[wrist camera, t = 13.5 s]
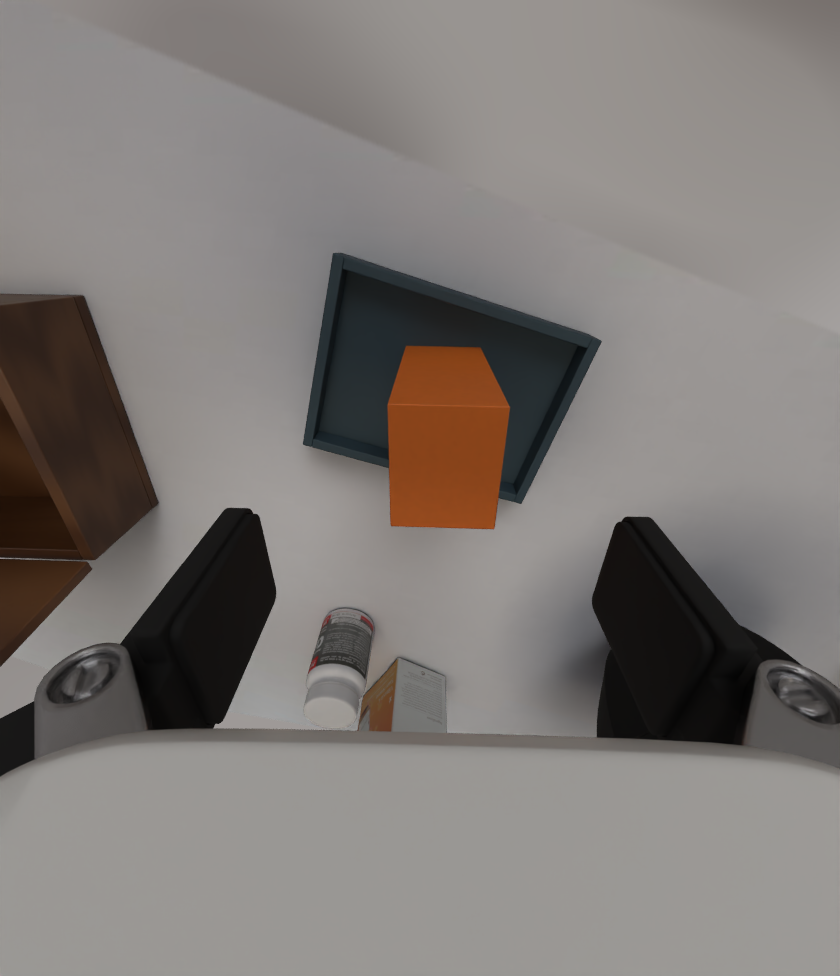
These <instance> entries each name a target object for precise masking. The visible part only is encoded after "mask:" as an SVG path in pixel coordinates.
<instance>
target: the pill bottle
mask: <svg viewBox="0 0 840 976" xmlns="http://www.w3.org/2000/svg"><path fill="white" fill-rule="evenodd" d="M373 635H374V625H373V622H372V621H371V619H370V618H369V617H368V616H367V615H366V614H364V613H362V612H360V611H357V610H353V609H338V610H335V611H332V612H331V613H329V614H328V615H327V616H326V618H325V619H324V621H323V624H322V628H321V631H320V635H319V638H318V641H317V645H316V648H315V652H314V655H313V658H312V662H311V665H310V668H309V672H308V675H307V680H306V686H307V689H308V693H307V696H306V700H305V704H304V710H303V711H304V715H305V717H306V718H307V719H308V720H309V721H310V722H312V723H313V724H315V725H317V726H320V727H323V728H328V729H340V728H345V727H347V726H349V725H351V724H352V723H353V722H354V721H355V719H356V716H357V711H358V707H359V699H360V698H361V697H362V695H363V693H364V691H365V687H366V681H367V674H368V667H369V661H370V654H371V648H372V641H373Z"/></svg>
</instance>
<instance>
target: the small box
mask: <svg viewBox="0 0 840 976" xmlns="http://www.w3.org/2000/svg"><path fill="white" fill-rule="evenodd" d="M358 731H387V732H426V733H447V717H446V679H445V676H443V675H440V674H438V673H435V672H433V671H430V670H428V669H425V668H423V667H420V666H418V665H415V664H413V663H411V662H408V661H406V660H403V659H401V658H398V659H397V660H396V661H395V662H394V664H393V665H392V666H391V667H390V668H389V670H388V671H387V672H386V673H385V674H384V675H383V676H382V677H381V678H380V679H379V680H378V681H377V683H376V684H375V685H374V686H373V687H372V688H371V689H370V690H369V691H368V692H367V693H366V694H365V695H364V697H363V700H362V707H361V713H360V719H359V725H358Z"/></svg>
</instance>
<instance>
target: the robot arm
mask: <svg viewBox="0 0 840 976" xmlns="http://www.w3.org/2000/svg"><path fill="white" fill-rule="evenodd" d="M275 598H276V587H275V582H274V578H273V574H272V569H271V565H270V561H269V556H268V552H267V547H266V543H265V539H264V534H263V530H262V526H261V521H260V518H259V516H258V515H257V514H253V512H252V510H251V509H249V508H226V509H225V510H224V511H223V512H222V514H221V515H220V516H219V517H218V519H217V520H216V521H215V523H214V524H213V525H212V526H211V528H210V529H209V530H208V532H207V533H206V534H205V536H204V537H203V538H202V539H201V541H200V542H199V543H198V545H197V546H196V547H195V548H194V550H193V551H192V552H191V554H190V555H189V556H188V557H187V559H186V560H185V561H184V563H183V564H182V565H181V566H180V567H179V569H178V570H177V571H176V573H175V574H174V575H173V576H172V578H171V579H170V580H169V582H168V583H167V584H166V585H165V587H164V588H163V589H162V591H161V592H160V593H159V594H158V596H157V597H156V598H155V600H154V601H153V602H152V604H151V605H150V606H149V607H148V609H147V610H146V611H145V613H144V614H143V615H142V616H141V618H140V619H139V620H138V622H137V623H136V624H135V625H134V627H133V628H132V629H131V631H130V632H129V633H128V634H127V636H126V637H125V638H124V640H123V641H122V642H121V644H116V643H102V644H96V645H92V646H90V647H87V648H84V649H81V650H79V651H77V652H75V653H73V654H71V655H70V656H68V657H66V658H65V659H63V660H62V661H61V662H59V663H58V664H57V665H55V666H54V667H53V668H52V669H51V670H50V671H49V672H48V673H47V674H46V675H45V676H44V677H43V679H42V681H41V682H40V684H39V685H38V687H37V690H36V694H35V699H34V702H32V703H30V704H28V705H26V706H24V707H22V708H20V709H18V710H16V711H14V712H12V713H10V714H8V715H6V716H4V717H3V718H0V976H840V690H839V689H838V688H837V687H836V686H835V685H833V684H832V683H831V682H829V681H828V680H827V679H825V678H824V677H822V676H821V675H819V674H817V673H816V672H814V671H812V670H810V669H808V668H806V667H804V666H801V665H798V664H796V663H793V662H789V661H784V660H779V659H778V660H767V661H765V662H764V661H763V660H762V659H761V658H760V656H759V655H758V654H757V653H756V651H757V650H758V648H757V647H756V645H755V644H754V643H753V642H752V640H751V639H750V638H749V637H748V636H747V634H746V633H745V632H744V631H743V629H742V628H741V627H740V626H739V625H738V623H737V622H736V621H735V620H734V618H733V617H732V616H731V615H730V614H729V612H728V611H727V610H726V609H725V607H724V606H723V605H722V604H721V603H720V601H719V600H718V599H717V598H716V596H715V595H714V594H713V593H712V591H711V590H710V589H709V588H708V587H707V585H706V584H705V583H704V582H703V580H702V579H701V578H700V577H699V576H698V574H697V573H696V572H695V571H694V569H693V568H692V567H691V566H690V565H689V563H688V562H687V561H686V560H685V558H684V557H683V556H682V555H681V554H680V552H679V551H678V550H677V549H676V547H675V546H674V545H673V544H672V543H671V541H670V540H669V539H668V538H667V536H666V535H665V534H664V533H663V531H662V530H661V529H660V528H659V527H658V525H657V524H656V523H655V522H654V520H652V519H651V518H649V517H625V518H624V519H623V520H622V522H618V523H617V524H616V525H615V527H614V531H613V534H612V537H611V540H610V543H609V546H608V549H607V552H606V556H605V559H604V562H603V565H602V568H601V571H600V574H599V577H598V581H597V584H596V587H595V590H594V593H593V597H592V605H593V609H594V612H595V614H596V616H597V619H598V621H599V623H600V625H601V627H602V630H603V632H604V634H605V636H606V638H607V641H608V643H609V645H610V647H611V649H612V652H613V654H614V656H615V658H616V661H617V663H618V665H619V667H620V669H621V672H622V674H623V676H624V678H625V680H626V683H627V685H628V687H629V689H630V692H631V694H632V696H633V698H634V700H635V703H636V705H637V707H638V709H639V711H640V714H641V716H642V718H643V720H644V723H645V725H646V727H647V729H648V731H649V732H650V733H651V734H652V735H657V738H658V740H649V739H626V738H595V737H564V736H533V735H499V734H463V733H426V732H387V731H342V730H295V729H213V728H214V725H215V724H219V723H221V722H222V721H223V719H224V717H225V715H226V713H227V711H228V709H229V706H230V704H231V702H232V699H233V697H234V695H235V692H236V690H237V688H238V685H239V683H240V681H241V679H242V676H243V674H244V672H245V669H246V667H247V665H248V662H249V660H250V658H251V655H252V653H253V651H254V648H255V646H256V644H257V642H258V639H259V637H260V635H261V632H262V630H263V628H264V625H265V623H266V621H267V618H268V616H269V614H270V612H271V609H272V607H273V605H274V602H275Z"/></svg>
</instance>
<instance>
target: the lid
mask: <svg viewBox="0 0 840 976" xmlns="http://www.w3.org/2000/svg"><path fill="white" fill-rule="evenodd" d="M91 570H92V568H91V566H90V565H89V563H88V562H81V561H50V560H20V559H0V666H2V664H3V663H4V662H5V661H6V660H7V659H8V658H9V657H10V656H11V655H12V654H13V653H14V652H15V651H16V650H17V649H18V648H19V646H20V645H21V644H22V643H23V642H24V641H25V640H26V639H27V638H28V637H29V636H30V635H31V634H32V633H33V632H34V631H35V630H36V628H37V627H38V626H39V625H40V624H41V623H42V622H43V621H44V620H45V619H46V618H47V617H48V616H49V615H50V614H51V613H52V611H53V610H54V609H55V608H56V607H57V606H58V605H59V604H60V603H61V602H62V601H63V600H64V599H65V598H66V597H67V596H68V595H69V593H70V592H71V591H72V590H73V589H74V588H75V587H76V586H77V585H78V584H79V583H80V582H81V581H82V580H83V579H84V578H85V576H86V575H87V574H88V573H89V572H90V571H91Z"/></svg>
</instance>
